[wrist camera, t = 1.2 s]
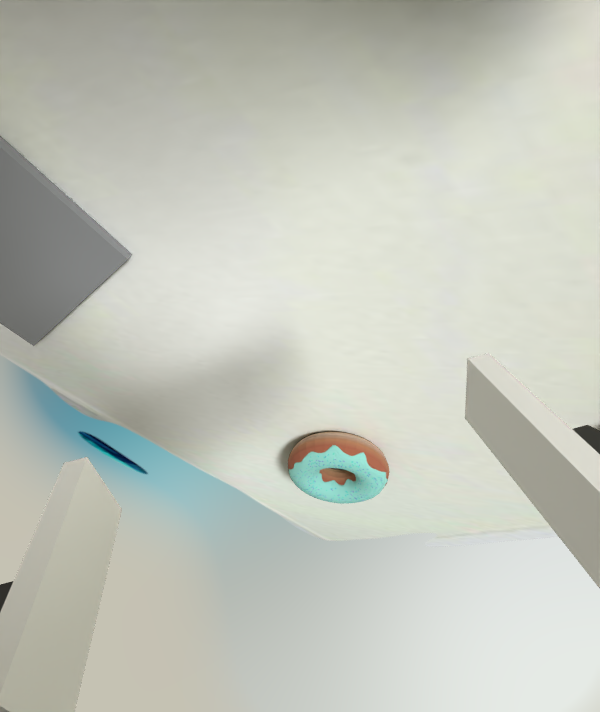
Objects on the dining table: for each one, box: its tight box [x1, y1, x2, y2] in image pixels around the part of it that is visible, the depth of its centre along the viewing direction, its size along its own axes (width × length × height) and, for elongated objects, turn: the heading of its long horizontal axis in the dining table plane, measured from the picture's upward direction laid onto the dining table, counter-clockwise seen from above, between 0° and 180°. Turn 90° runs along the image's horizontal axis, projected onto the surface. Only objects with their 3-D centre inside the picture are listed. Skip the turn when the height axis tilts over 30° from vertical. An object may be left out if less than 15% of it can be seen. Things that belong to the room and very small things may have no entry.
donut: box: [288, 432, 389, 503], centre depth 49 cm, size 12×12×4 cm
